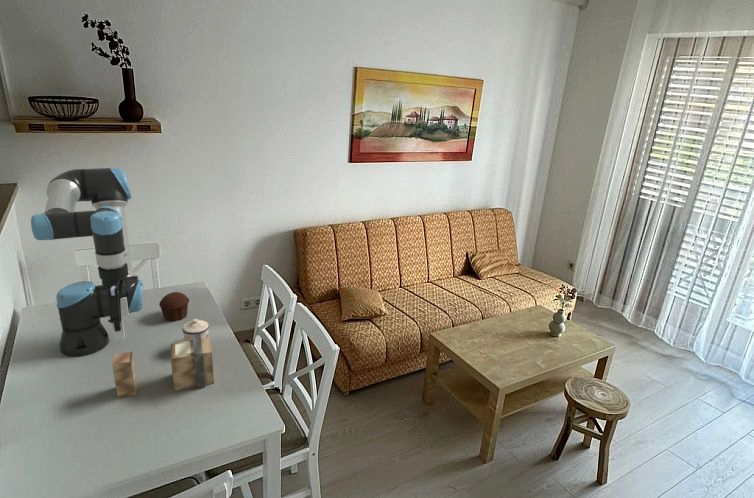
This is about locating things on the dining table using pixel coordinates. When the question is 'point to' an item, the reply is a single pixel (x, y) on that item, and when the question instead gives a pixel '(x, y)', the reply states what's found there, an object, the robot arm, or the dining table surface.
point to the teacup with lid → (195, 329)
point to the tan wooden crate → (192, 363)
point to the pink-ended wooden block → (124, 374)
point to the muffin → (174, 306)
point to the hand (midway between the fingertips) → (122, 327)
